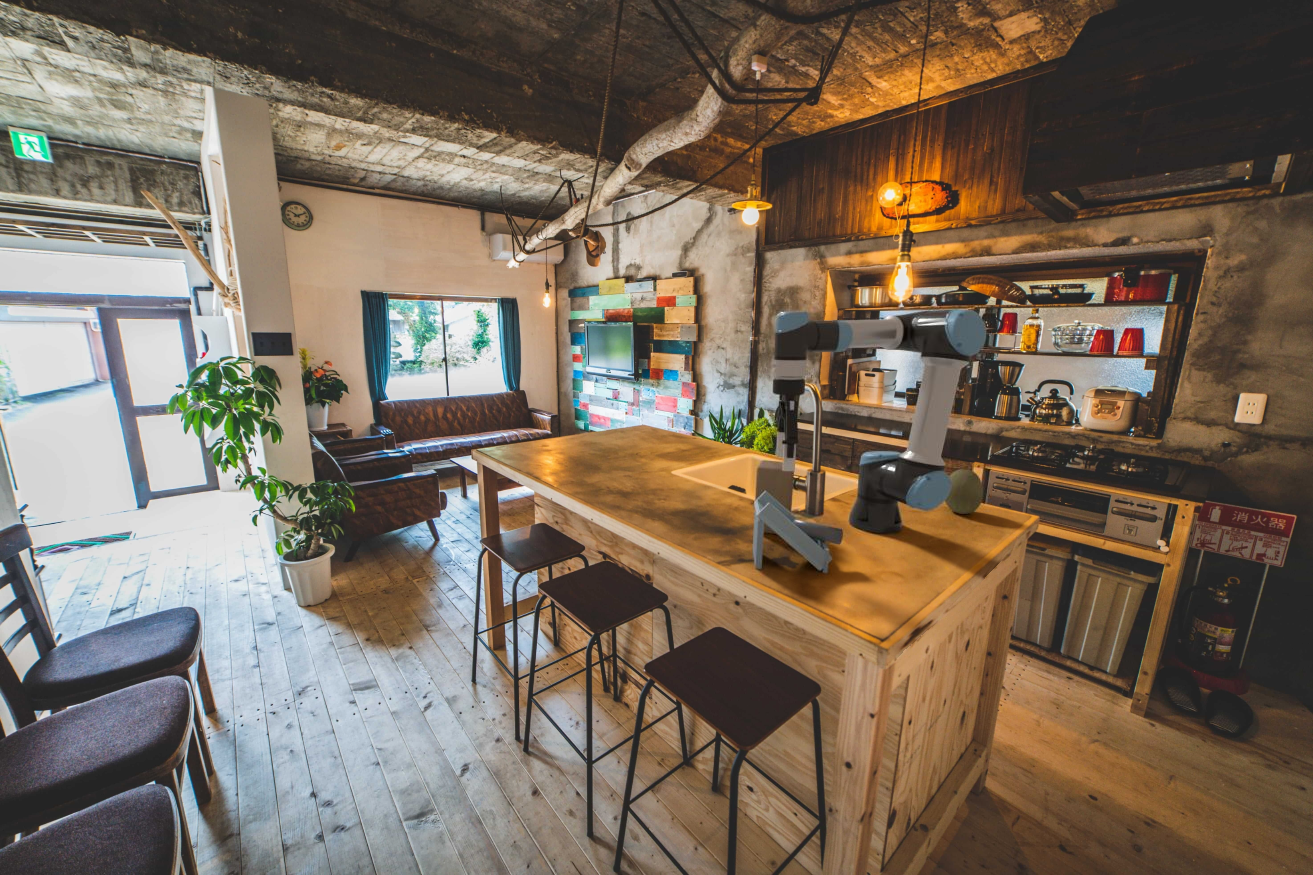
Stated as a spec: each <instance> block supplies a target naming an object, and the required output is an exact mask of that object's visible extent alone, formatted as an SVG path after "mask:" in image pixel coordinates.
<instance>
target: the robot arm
mask: <svg viewBox="0 0 1313 875" xmlns="http://www.w3.org/2000/svg"><path fill="white" fill-rule="evenodd" d="M986 340H987V326H986V323H985V322H984V320H983V318H982V316H981V315H980V314H979V313H977V312H976V311H974V310H972V309H963V308H962V309H961V308H960V309H959V308H954V309H953V308H952V309H941V310H922V311H917V312H916V311H915V312H911V313H905V314H898V315H888V316H886V317H884V318H883V319H857V320H856V319H855V320H854V319H853V320H852V319H850V320H848V319H847V320H837V319H834V320H811V319H810V314H809V312H807V311H781V312H779V313H778V314H777V315H776V319H775V327H774V352H773V355H774V356H773V357H774V358H773V360H774V361H773V362H774V363H771V366H770V368H772V369H773V376H774V377H775V378H773V380H772V393H773V394H774V395H777V396H779V397H778V398H779V401H778V411H777V419H776V432H777V434H776V452H775V453H776V454H775V456H776V458H782V462H783V471H794V472H796V471H795V470H796V457H797V456H796V453H797V444H798V443H799V433H798V432H799V431H798V428H799V427H798V425H799V424H798V405H799V402H798V401H797V400H796V396H802V395H804V394H805V392H806V390H805V389H806V388H805V387H806V380H805V378H804V377H806V376H807V364H808V360H807V356H808V353H838V352H845V351H846V350H848V349H855V348H856V349H858V348H860V349H861V348H881V347H882V348H883V349H884V350H887V351H891V350H892V351H893V350H894V351H896V350H897V351H903V352H904V351H906V352H913V353H919V354H920V360H921V361H922V363H924V370H923V373H922V378H921V382H920V388H919V391H918V396H917V401H916V404H915V410H914V414H913V420H912V423H911V424H912V425H911V429H910V432H909V437H908V442H907V447H906V450H905V451H904V452H898V451H890V450H888V451H886V450H877V451H875V450H874V451H866V452H864V453H862V454H861V457H860V461H859V466H858V479H857V495H856V500H855V501H854V503H853V506H852V508H851V510H850V512H849V517H848V523H849V524H850V525H851V526H853V527H854V528H857V529H859V530H862V531H866V532H869V533H874V534H875V533H877V534H895V533H898V532H901V530H902V528H903V520H902V519H903V518H902V515H901V511H900V507H899V503H900V504H901V503H902V504H904V505H906V506H908V507H910V508H911V509H917V510H920V511H924V512H925V511H933V510H934V509H937V508H938V507H939V506H941V505H942V504H943V503H944V502H945V500H946V498H947V497H948V495H949V493H950V490H951V481H950V477H949V476H950V475H949V474H947V473H946V472H945V468H946V466H947V465H946V463H945V461H944V460H943V458H942V453H943V448H944V445H945V440H946V436H947V433H948V432H947V431H948V428H949V427H948V426H949V423H950V419H951V414H952V410H953V405H954V401H955V397H956V396H955V395H956V394H957V388H958V385H959V381H960V380H959V379H960V375H961V370H962V369H963V368H964V367H966V366H968V365H969V364H970V361H971V357H972V356H974V355H976V354H978V353H979V352H981V350H982V349H983V348H984V346H985V343H986Z"/></svg>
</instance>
